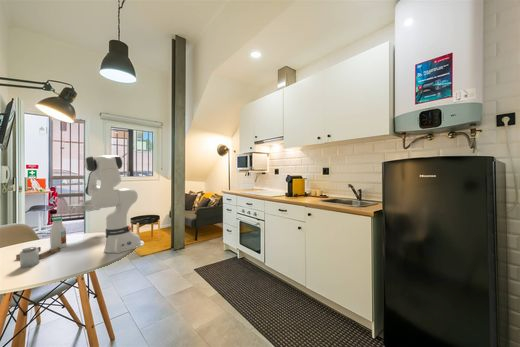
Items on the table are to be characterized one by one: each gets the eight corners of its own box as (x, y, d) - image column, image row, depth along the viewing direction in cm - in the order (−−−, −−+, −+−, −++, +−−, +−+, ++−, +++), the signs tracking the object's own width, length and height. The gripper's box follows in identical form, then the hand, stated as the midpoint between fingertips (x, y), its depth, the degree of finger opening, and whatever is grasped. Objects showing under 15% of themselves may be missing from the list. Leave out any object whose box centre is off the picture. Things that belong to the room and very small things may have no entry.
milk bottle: (56, 249, 138) (55, 219, 138) (47, 249, 140) (46, 219, 139) (69, 245, 146) (68, 216, 145) (60, 244, 147) (59, 216, 147)
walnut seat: (39, 250, 137) (39, 247, 137) (60, 250, 136) (59, 247, 136) (16, 259, 124) (16, 255, 124) (39, 259, 124) (39, 255, 124)
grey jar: (40, 261, 122) (39, 245, 121) (37, 265, 116) (37, 248, 116) (22, 264, 117) (21, 248, 117) (18, 269, 112) (18, 252, 112)
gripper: (76, 201, 168) (59, 204, 154) (101, 201, 168) (87, 204, 154) (77, 209, 168) (60, 213, 155) (102, 209, 168) (87, 213, 154)
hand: (73, 209), depth 154 cm, fingers closed
